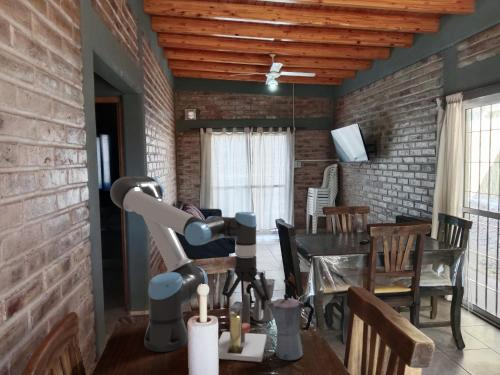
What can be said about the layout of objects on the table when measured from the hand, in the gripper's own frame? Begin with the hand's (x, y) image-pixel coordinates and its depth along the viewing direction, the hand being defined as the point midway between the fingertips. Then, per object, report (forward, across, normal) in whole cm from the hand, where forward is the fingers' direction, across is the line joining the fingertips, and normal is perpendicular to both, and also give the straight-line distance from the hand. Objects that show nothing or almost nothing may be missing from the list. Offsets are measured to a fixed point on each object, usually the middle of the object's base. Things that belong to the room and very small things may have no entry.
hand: (246, 316), depth 128 cm
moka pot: (+9, -17, +6) cm, 20 cm away
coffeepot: (+9, 0, -19) cm, 21 cm away
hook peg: (+8, 0, +11) cm, 14 cm away
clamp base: (+8, 0, +6) cm, 11 cm away
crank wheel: (+7, 0, +6) cm, 9 cm away
